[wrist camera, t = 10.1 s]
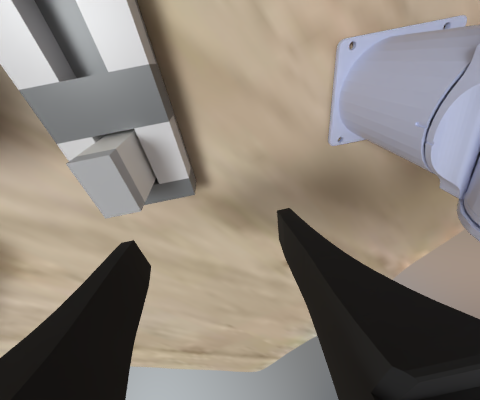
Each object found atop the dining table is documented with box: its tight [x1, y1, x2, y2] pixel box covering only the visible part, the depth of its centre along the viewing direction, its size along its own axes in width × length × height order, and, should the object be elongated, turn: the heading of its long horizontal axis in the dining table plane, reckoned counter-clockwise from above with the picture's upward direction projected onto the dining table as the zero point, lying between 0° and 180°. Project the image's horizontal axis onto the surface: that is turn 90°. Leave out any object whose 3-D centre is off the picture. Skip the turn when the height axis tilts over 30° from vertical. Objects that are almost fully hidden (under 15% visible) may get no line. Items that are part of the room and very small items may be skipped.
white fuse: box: [66, 129, 156, 218], centre depth 15 cm, size 4×2×6 cm, turn 9°
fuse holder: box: [0, 0, 196, 205], centre depth 14 cm, size 16×8×2 cm, turn 9°
